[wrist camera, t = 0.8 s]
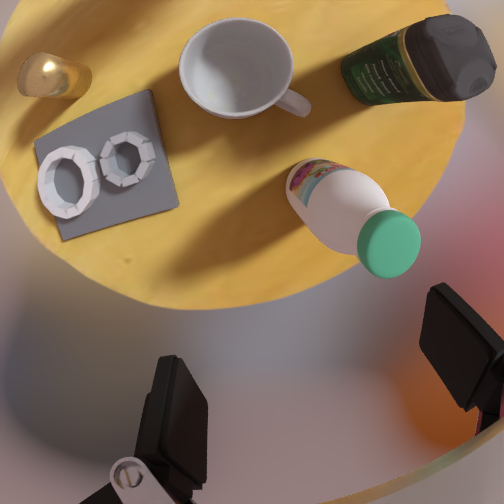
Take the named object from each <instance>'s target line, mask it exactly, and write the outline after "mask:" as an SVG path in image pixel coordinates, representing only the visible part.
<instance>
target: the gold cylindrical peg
mask: <svg viewBox="0 0 504 504" xmlns="http://www.w3.org/2000/svg"><path fill="white" fill-rule="evenodd" d="M91 81H92V73H91V71H90V69H89V68H88V67H87V66H85V65H82V64H79V63H76V62H73V61H70V60H67V59H64V58H61V57H58V56H55V55H52V54H49V53H45V52H37V53H34V54H33V55H31V56H30V57H29V58H28V59H27V60H26V61H25V62H24V64H23V65H22V67H21V69H20V72H19V75H18V80H17V86H18V90H19V92H20V93H21V94H22V95H23V96H29V97H46V98H58V99H68V100H75V99H78V98H80V97H82V96H83V95H84V94H85V93H86V92H87V90H88V89H89V87H90V85H91Z"/></svg>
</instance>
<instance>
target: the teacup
mask: <svg viewBox="0 0 504 504" xmlns="http://www.w3.org/2000/svg"><path fill="white" fill-rule="evenodd" d="M293 70H294V61H293V56H292V52H291V50H290V47H289V46H288V44H287V42H286V41H285V39H284V38H283V37H282V36H281V35H280V34H279V33H278V32H277V31H276V30H274V29H273V28H272V27H270V26H268V25H267V24H265V23H263V22H260V21H257V20H253V19H249V18H227V19H222V20H218V21H215V22H213V23H211V24H208V25H206V26H205V27H203V28H202V29H200V30H199V31H198V32H196V33H195V34H194V35H193V36H192V37H191V38H190V39H189V40H188V42H187V43H186V45H185V47H184V49H183V51H182V53H181V56H180V60H179V76H180V80H181V83H182V86H183V88H184V90H185V91H186V93H187V95H188V96H189V97H190V98H191V99H192V100H193V101H194V102H195V103H196V104H197V105H199V106H200V107H201V108H202V109H204V110H205V111H207V112H208V113H210V114H212V115H215V116H217V117H221V118H225V119H242V118H247V117H251V116H254V115H256V114H258V113H260V112H262V111H264V110H265V109H267V108H269V107H270V106H272V105H273V104H274V105H276V106H278V107H280V108H282V109H284V110H286V111H288V112H290V113H292V114H294V115H296V116H299V117H306V116H307V115H308V114H309V113H310V111H311V108H312V105H311V103H310V102H309V101H308V100H307V99H306V98H305V97H303V96H302V95H300V94H299V93H297V92H295V91H293V90H290V89H288V87H289V85H290V82H291V79H292V76H293Z"/></svg>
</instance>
